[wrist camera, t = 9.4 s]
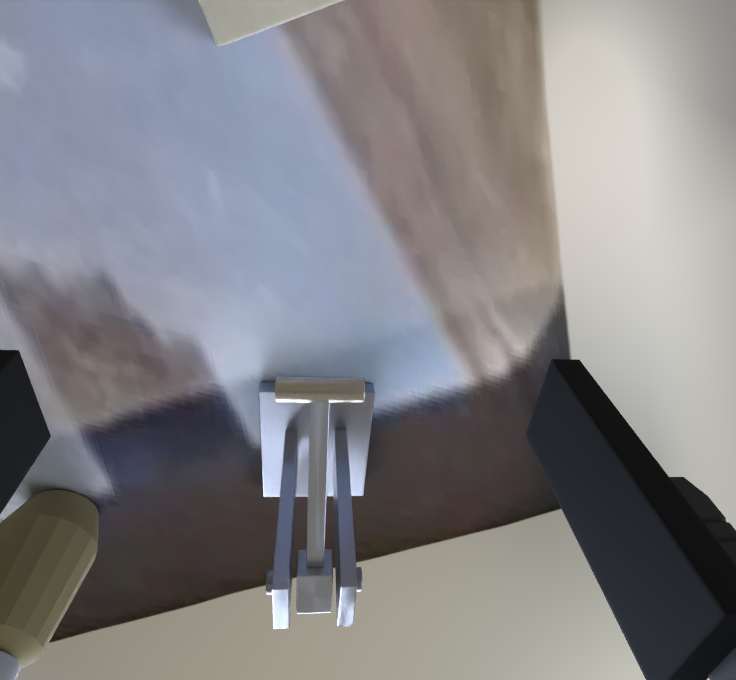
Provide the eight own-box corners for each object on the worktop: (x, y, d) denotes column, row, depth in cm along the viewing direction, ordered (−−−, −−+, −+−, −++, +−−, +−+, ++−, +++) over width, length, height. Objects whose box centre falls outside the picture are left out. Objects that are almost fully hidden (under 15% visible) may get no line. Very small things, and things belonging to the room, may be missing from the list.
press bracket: (260, 381, 38) (231, 549, 26) (373, 382, 39) (398, 545, 27) (264, 485, 45) (243, 661, 32) (362, 484, 46) (378, 654, 33)
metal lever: (277, 370, 29) (274, 385, 26) (362, 372, 29) (366, 386, 27) (276, 586, 32) (273, 615, 30) (351, 583, 33) (353, 612, 31)
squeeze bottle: (71, 548, 47) (-46, 793, 32) (-5, 505, 43) (-180, 761, 28) (132, 513, 45) (37, 756, 30) (57, 465, 41) (-94, 716, 26)
